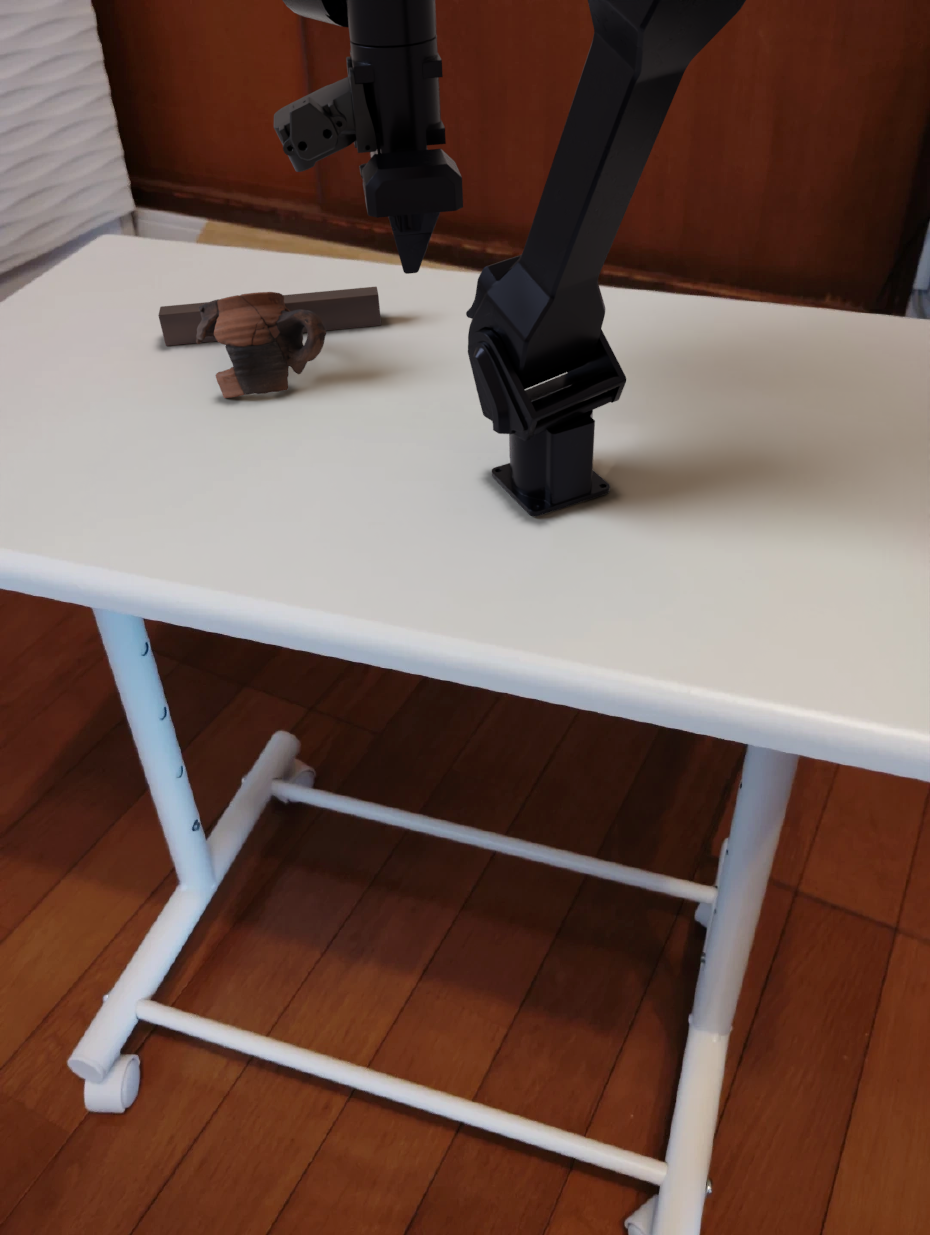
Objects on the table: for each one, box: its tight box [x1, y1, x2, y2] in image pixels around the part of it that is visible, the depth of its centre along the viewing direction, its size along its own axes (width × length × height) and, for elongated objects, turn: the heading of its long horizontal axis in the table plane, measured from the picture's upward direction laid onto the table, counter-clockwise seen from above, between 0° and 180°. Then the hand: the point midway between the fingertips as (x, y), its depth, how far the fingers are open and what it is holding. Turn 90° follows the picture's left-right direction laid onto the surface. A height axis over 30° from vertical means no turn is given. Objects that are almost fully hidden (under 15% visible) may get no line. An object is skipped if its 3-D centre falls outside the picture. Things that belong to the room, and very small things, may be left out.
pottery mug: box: [195, 291, 327, 399], centre depth 87 cm, size 12×10×8 cm
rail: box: [157, 286, 382, 347], centre depth 94 cm, size 2×20×3 cm, turn 98°
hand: (410, 271), depth 77 cm, fingers closed
